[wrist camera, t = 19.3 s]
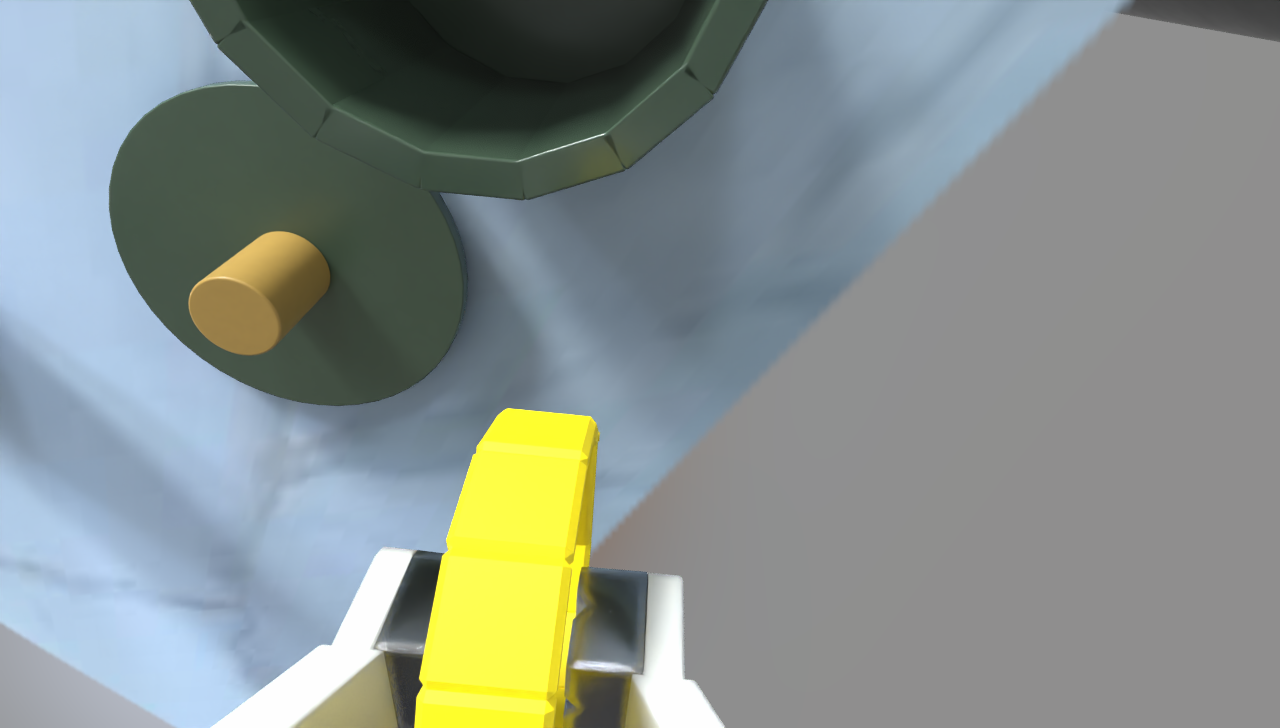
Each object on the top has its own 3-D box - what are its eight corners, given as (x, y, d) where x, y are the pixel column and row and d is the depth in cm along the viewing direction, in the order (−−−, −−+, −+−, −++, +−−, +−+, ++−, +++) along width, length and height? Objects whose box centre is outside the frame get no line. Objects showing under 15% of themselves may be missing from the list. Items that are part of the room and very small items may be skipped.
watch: (471, 335, 10) (279, 713, 5) (650, 353, 10) (626, 746, 5) (484, 589, 14) (373, 972, 9) (621, 602, 14) (590, 991, 9)
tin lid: (463, 96, 20) (415, 136, 16) (478, 400, 26) (445, 483, 23) (81, 58, 20) (-62, 88, 16) (186, 373, 26) (101, 452, 22)
